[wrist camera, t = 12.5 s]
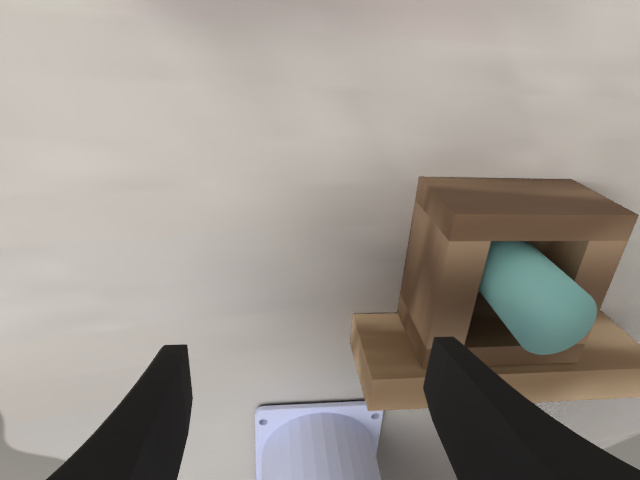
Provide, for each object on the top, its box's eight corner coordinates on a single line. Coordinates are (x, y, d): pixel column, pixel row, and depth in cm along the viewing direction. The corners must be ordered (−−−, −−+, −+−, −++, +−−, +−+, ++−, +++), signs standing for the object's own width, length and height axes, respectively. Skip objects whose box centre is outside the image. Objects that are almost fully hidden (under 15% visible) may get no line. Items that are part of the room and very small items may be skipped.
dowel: (501, 266, 24) (581, 353, 18) (445, 267, 24) (508, 356, 18) (515, 213, 23) (608, 287, 17) (456, 213, 22) (529, 289, 16)
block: (529, 309, 26) (577, 362, 22) (397, 312, 25) (422, 368, 21) (571, 179, 22) (638, 214, 18) (419, 176, 21) (454, 214, 17)
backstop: (587, 334, 27) (649, 396, 23) (350, 342, 25) (368, 411, 21) (598, 308, 26) (665, 367, 22) (352, 314, 24) (372, 379, 20)
